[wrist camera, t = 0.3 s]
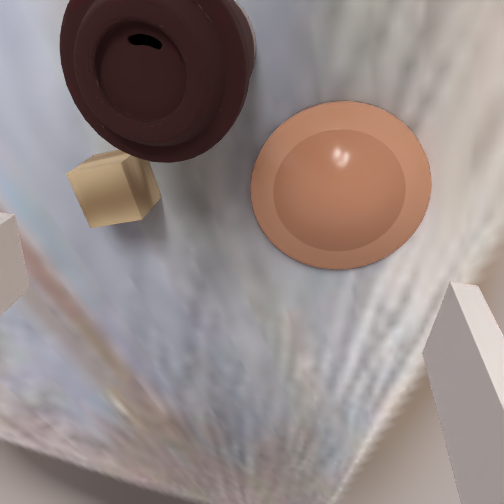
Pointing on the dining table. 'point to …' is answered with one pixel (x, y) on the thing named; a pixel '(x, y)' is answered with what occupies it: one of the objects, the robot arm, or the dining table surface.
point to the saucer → (340, 185)
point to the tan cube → (114, 188)
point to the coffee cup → (158, 72)
